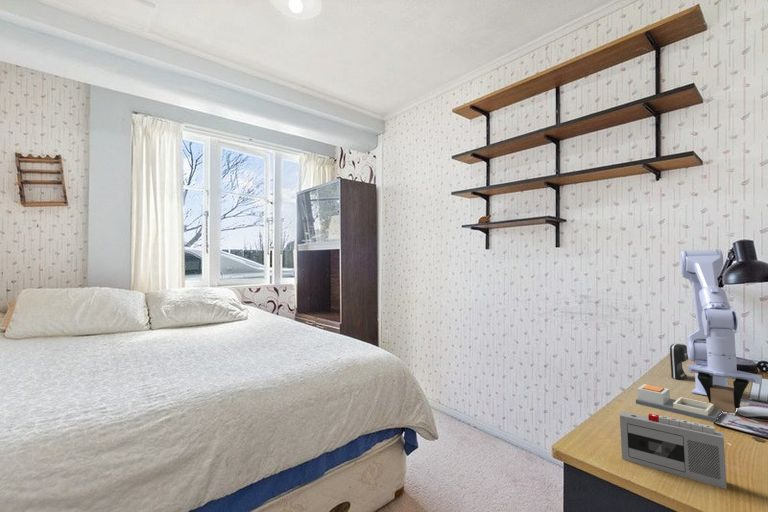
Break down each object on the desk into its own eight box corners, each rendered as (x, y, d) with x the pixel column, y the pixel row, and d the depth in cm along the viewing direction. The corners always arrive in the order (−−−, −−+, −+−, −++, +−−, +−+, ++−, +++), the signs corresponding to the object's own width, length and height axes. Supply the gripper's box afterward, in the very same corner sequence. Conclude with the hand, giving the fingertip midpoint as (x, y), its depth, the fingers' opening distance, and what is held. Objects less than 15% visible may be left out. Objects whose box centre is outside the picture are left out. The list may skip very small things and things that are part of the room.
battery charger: (685, 381, 120) (683, 347, 120) (671, 378, 123) (669, 345, 124) (690, 377, 124) (688, 343, 125) (676, 374, 127) (675, 342, 128)
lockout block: (715, 406, 99) (713, 384, 99) (737, 410, 96) (736, 388, 96) (711, 410, 96) (710, 387, 97) (734, 415, 93) (733, 392, 93)
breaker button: (647, 394, 105) (647, 384, 106) (664, 398, 102) (663, 387, 102) (643, 398, 103) (642, 387, 103) (660, 401, 100) (659, 391, 100)
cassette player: (622, 459, 74) (619, 410, 74) (624, 454, 76) (622, 406, 76) (726, 489, 63) (723, 432, 64) (726, 482, 65) (723, 427, 66)
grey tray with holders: (645, 396, 108) (644, 383, 108) (722, 413, 94) (721, 398, 94) (635, 403, 103) (635, 389, 103) (715, 422, 89) (714, 406, 89)
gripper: (682, 351, 100) (685, 400, 99) (757, 361, 88) (761, 416, 88) (689, 347, 104) (692, 394, 104) (761, 356, 93) (764, 409, 92)
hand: (724, 404), depth 96 cm, fingers closed on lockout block, 4 cm apart
